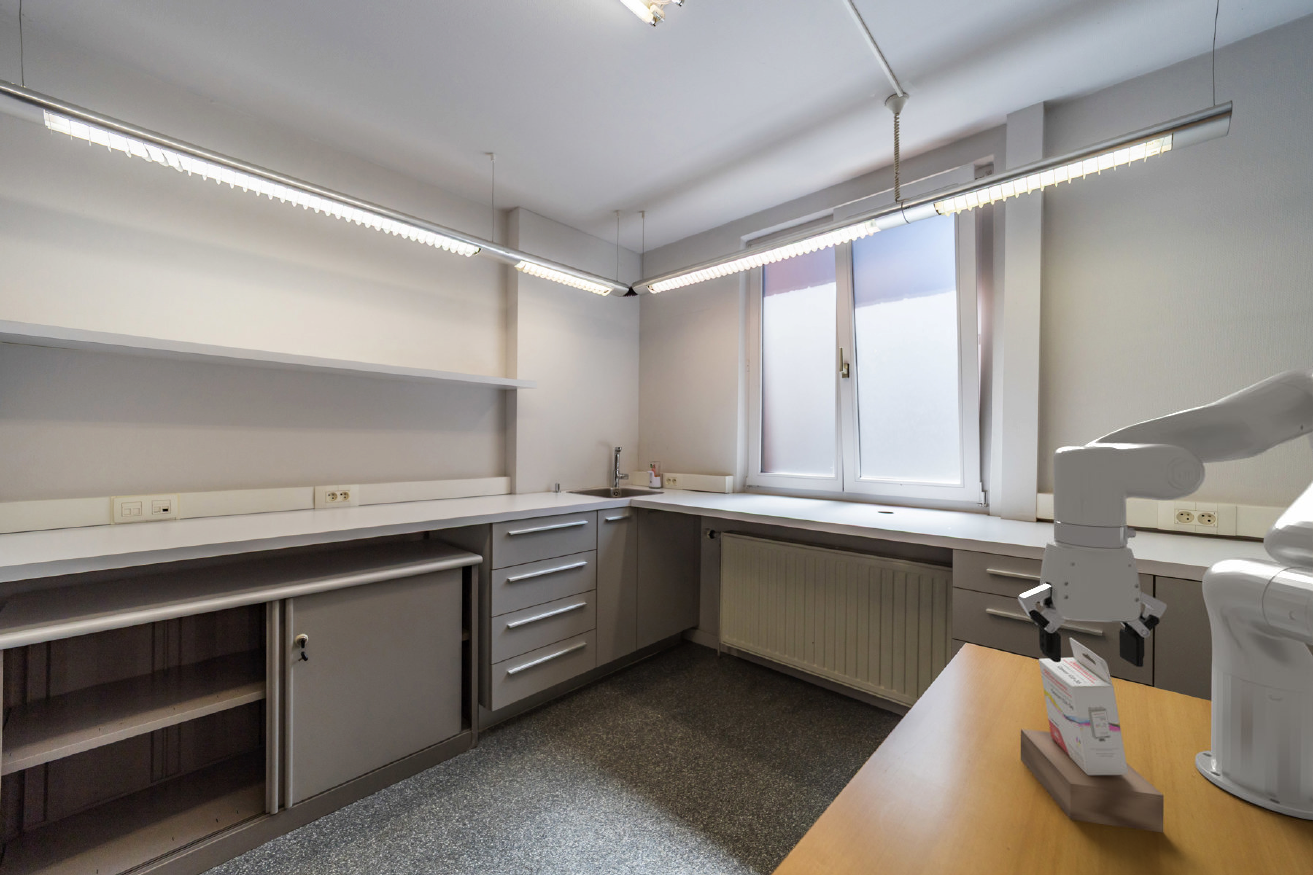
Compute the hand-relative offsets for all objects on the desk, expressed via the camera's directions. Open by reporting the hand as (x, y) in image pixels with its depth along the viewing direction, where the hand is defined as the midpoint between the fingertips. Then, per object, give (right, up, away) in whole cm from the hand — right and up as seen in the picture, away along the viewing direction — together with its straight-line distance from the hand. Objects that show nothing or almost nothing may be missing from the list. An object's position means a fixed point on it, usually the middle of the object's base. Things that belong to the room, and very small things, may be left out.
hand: (1090, 660), depth 68 cm
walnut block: (-1, -19, 0) cm, 19 cm away
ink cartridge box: (-1, -13, 0) cm, 13 cm away
